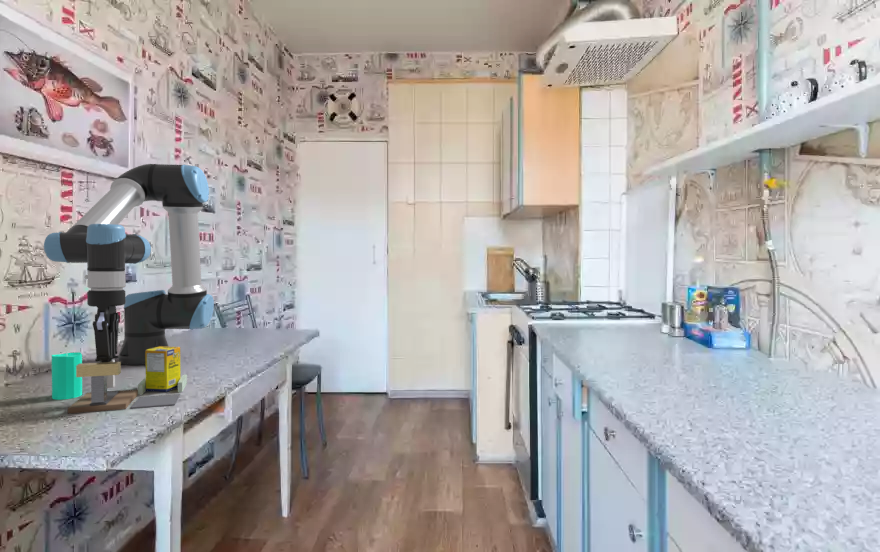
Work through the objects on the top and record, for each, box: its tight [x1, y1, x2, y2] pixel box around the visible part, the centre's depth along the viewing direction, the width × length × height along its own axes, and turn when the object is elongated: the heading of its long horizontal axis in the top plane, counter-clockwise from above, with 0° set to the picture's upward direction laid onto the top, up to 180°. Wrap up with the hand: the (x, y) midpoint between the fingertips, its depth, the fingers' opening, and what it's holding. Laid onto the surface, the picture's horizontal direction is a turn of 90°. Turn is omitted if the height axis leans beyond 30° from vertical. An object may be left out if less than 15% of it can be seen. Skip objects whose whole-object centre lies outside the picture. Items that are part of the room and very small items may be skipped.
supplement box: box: [144, 346, 182, 393], centre depth 129 cm, size 6×6×11 cm
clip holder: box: [137, 374, 188, 396], centre depth 129 cm, size 9×10×2 cm
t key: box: [76, 361, 122, 403], centre depth 111 cm, size 2×8×9 cm, turn 110°
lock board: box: [67, 388, 139, 414], centre depth 116 cm, size 13×11×2 cm
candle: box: [51, 351, 83, 401], centre depth 121 cm, size 6×6×12 cm
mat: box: [130, 393, 181, 410], centre depth 118 cm, size 9×9×1 cm
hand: (107, 387), depth 117 cm, fingers closed
